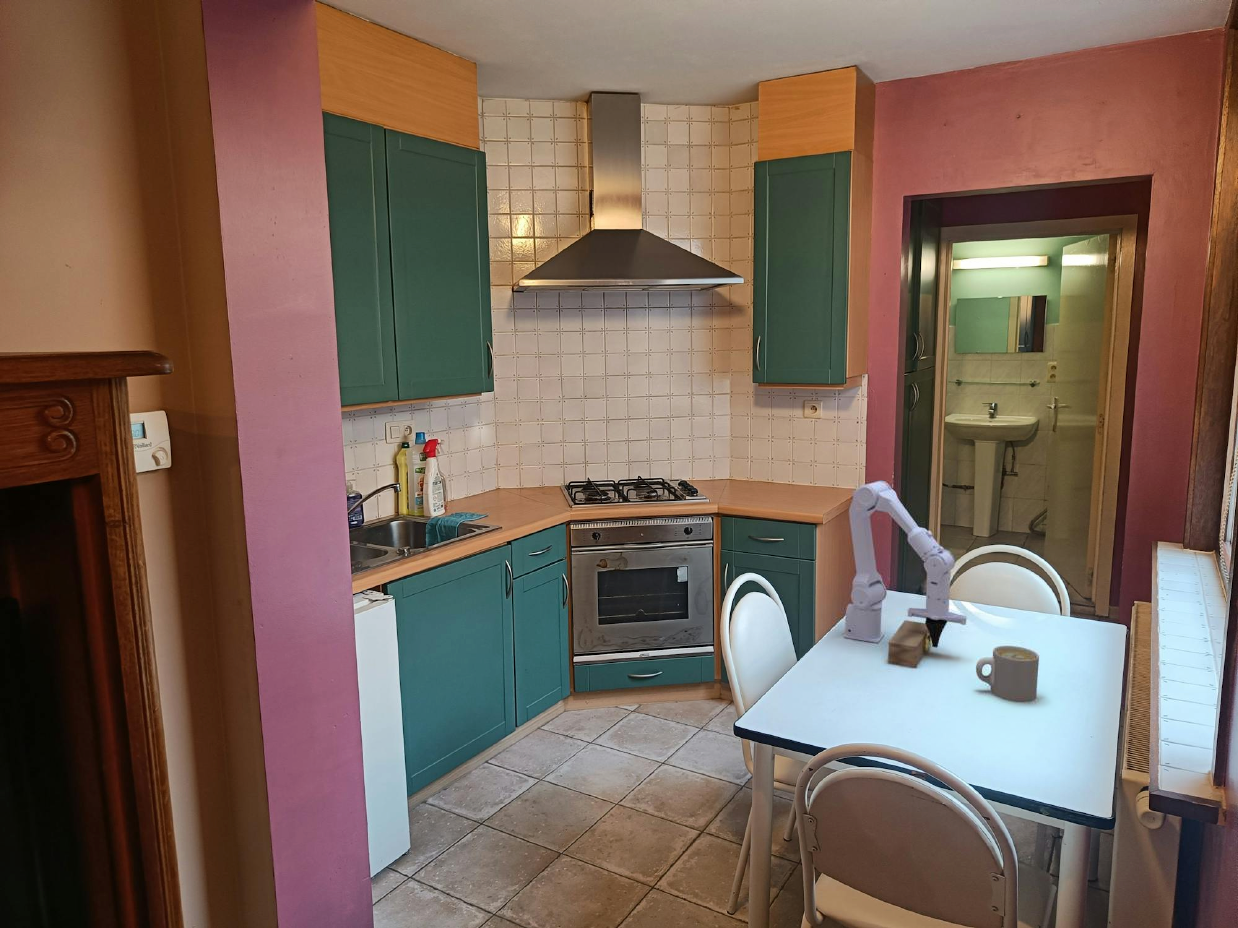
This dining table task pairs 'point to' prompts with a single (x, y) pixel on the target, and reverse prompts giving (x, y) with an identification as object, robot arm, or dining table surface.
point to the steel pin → (927, 643)
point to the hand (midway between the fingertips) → (935, 645)
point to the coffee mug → (1011, 673)
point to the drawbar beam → (907, 644)
